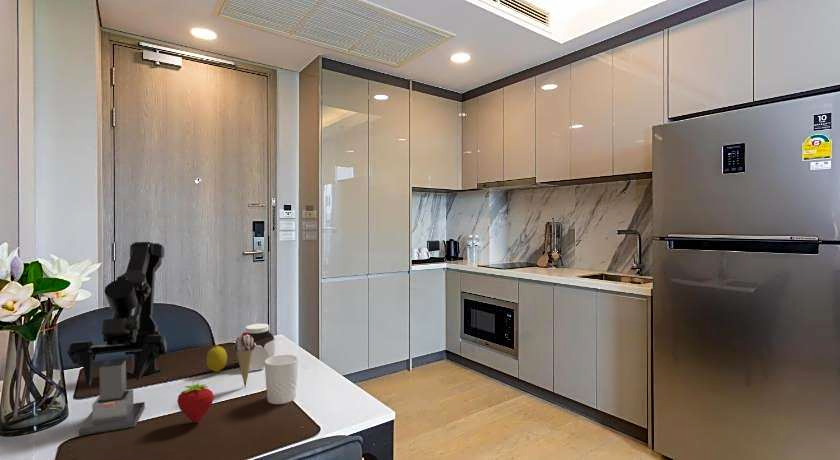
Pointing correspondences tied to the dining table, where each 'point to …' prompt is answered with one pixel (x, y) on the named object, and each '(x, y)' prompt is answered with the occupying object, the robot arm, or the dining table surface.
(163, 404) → the dining table surface
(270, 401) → the white cup
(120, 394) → the jack column
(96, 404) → the jack stand base
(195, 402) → the strawberry
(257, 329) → the spread jar
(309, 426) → the dining table surface
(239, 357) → the ice cream cone
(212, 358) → the lemon
